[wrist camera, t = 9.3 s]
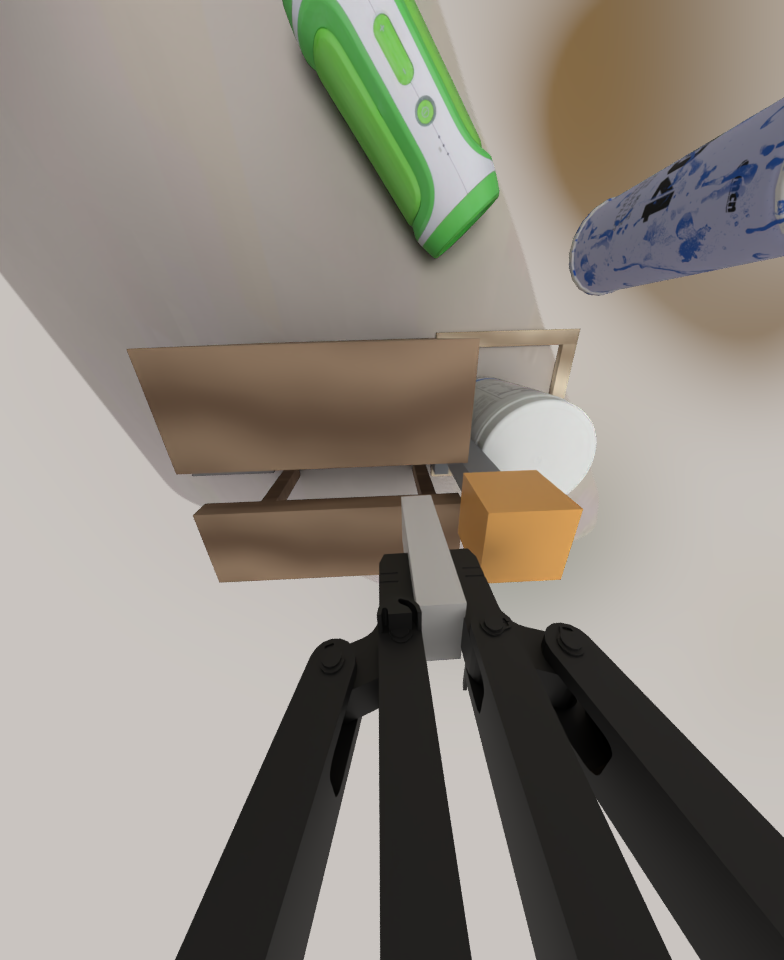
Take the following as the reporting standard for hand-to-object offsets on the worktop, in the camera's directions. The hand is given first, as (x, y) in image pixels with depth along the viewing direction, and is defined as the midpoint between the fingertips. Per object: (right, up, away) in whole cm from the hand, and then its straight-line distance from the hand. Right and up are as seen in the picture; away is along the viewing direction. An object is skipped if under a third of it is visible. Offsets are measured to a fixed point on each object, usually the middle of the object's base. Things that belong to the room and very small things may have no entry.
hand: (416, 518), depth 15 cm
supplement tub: (+10, +10, +21) cm, 25 cm away
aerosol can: (+20, +25, +14) cm, 35 cm away
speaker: (-1, +31, +10) cm, 33 cm away
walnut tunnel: (-6, +10, +20) cm, 23 cm away
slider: (+4, +10, +20) cm, 23 cm away
